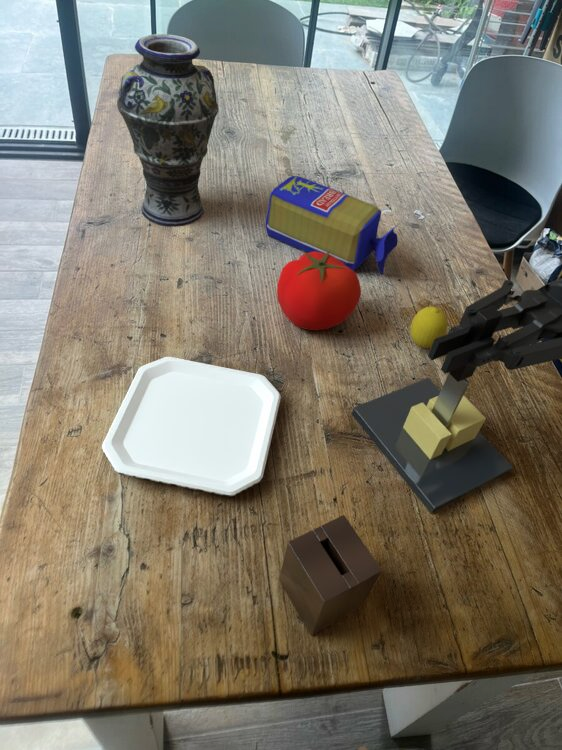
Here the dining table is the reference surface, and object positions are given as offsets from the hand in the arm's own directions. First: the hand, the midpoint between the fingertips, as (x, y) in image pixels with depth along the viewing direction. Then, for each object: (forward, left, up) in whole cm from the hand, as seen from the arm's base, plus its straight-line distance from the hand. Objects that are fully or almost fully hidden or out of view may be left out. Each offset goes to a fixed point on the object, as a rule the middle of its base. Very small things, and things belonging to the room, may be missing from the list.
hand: (440, 356), depth 65 cm
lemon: (+16, -18, -20) cm, 31 cm away
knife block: (-11, +19, -19) cm, 30 cm away
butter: (0, -9, -18) cm, 20 cm away
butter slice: (0, -4, -18) cm, 18 cm away
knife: (0, -6, -15) cm, 16 cm away
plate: (+16, +22, -20) cm, 34 cm away
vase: (+68, +4, -20) cm, 71 cm away
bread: (+45, -18, -20) cm, 52 cm away
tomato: (+29, -5, -20) cm, 35 cm away
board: (0, -6, -19) cm, 20 cm away
